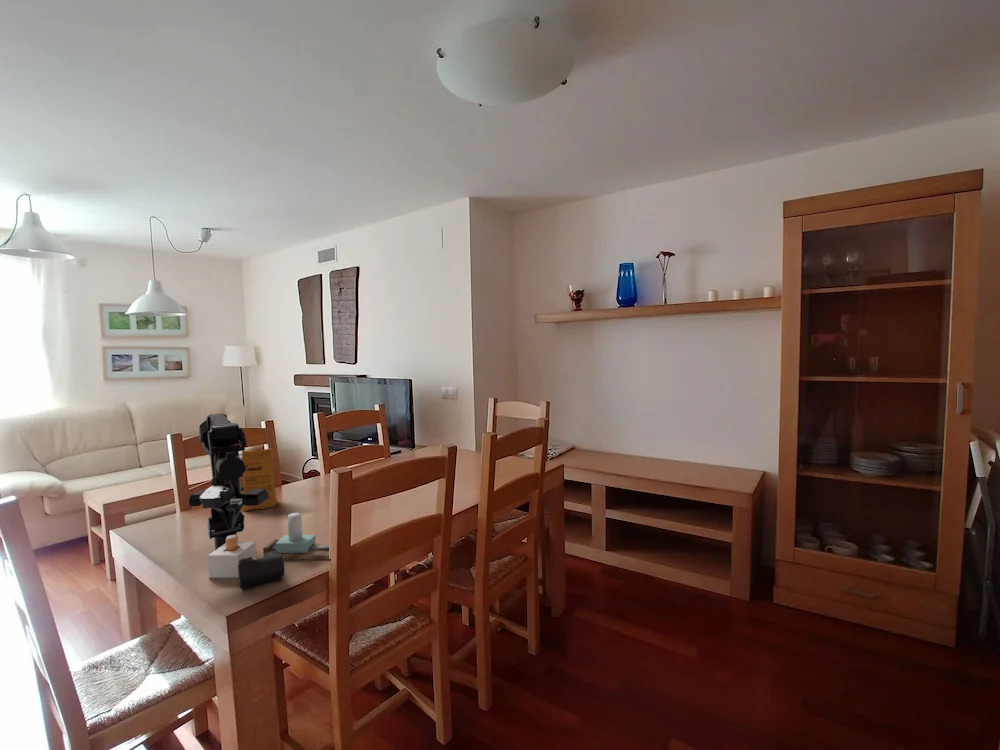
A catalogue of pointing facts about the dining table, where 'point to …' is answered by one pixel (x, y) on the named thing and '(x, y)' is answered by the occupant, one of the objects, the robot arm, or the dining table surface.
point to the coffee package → (259, 476)
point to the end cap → (260, 570)
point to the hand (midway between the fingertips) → (231, 528)
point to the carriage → (295, 537)
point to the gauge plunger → (231, 543)
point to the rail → (313, 553)
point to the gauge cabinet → (229, 561)
